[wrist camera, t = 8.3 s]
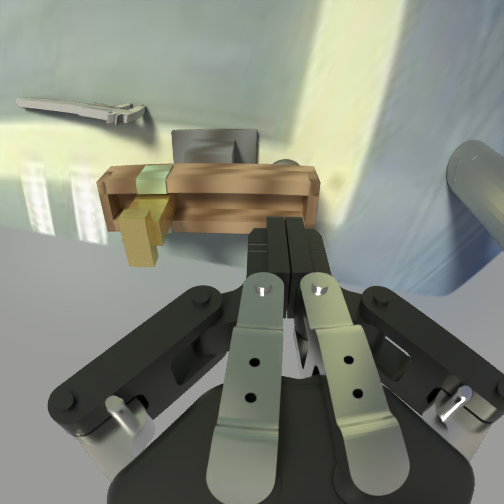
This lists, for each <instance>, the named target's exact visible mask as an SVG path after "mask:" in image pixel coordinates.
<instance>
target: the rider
mask: <svg viewBox="0 0 504 504" xmlns="http://www.w3.org/2000/svg"><path fill="white" fill-rule="evenodd" d="M177 208H178V200H177V193H167V194H137V196H136V197H135V199H134V200H133V202H132V203H131V205H130V207H129V208H128V209H124V210H123V212H122V213H121V215H120V217H119V218H118V222H119V227H120V231H121V235H122V239H123V243H124V247H125V251H126V255H127V258H128V262H129V266H134V267H155V264H156V261H157V259H158V251H157V246H163V244H164V241H165V239H166V236H167V233H168V231H169V228H170V226H171V223H172V221H173V218H174V215H175V213H176V211H177Z"/></svg>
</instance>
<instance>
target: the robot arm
mask: <svg viewBox="0 0 504 504" xmlns="http://www.w3.org/2000/svg"><path fill="white" fill-rule="evenodd" d="M447 181H448V185H449V187H450V189H451V190H452V192H453V193H454V194H455V195H456V196H457V197H458V198H459V199H460V200H461V201H462V203H463V204H464V205H465V206H466V207H467V208H468V209H469V210H470V212H471V213H472V214H473V215H474V216H475V217H476V218H477V220H478V221H479V222H480V223H481V224H482V225H483V227H484V228H485V229H486V230H487V231H488V232H489V234H490V235H491V236H492V237H493V239H494V240H495V241H496V242H497V244H498V245H499V246H500V247H501V249H502V250H503V251H504V157H502V156H501V155H500V154H499V153H497V152H496V151H494V150H493V149H492V148H490V147H489V146H487V145H486V144H484V143H483V142H480V141H469V142H466V143H465V144H463V145H461V146H460V147H459V148H458V149H457V150H456V151H455V152H454V154H453V155H452V157H451V159H450V161H449V164H448V168H447ZM286 310H287V318H294V324H295V326H294V333H293V336H294V342H295V347H296V353H297V359H298V364H299V370H300V379H295V378H290V377H285V376H281V373H282V351H283V318H286ZM386 336H387V337H388V338H390V339H391V340H392V341H393V342H395V343H396V344H397V345H399V346H400V347H401V348H402V349H404V350H405V351H406V352H407V353H408V354H409V355H410V357H411V358H410V357H409V356H407V355H406V354H405V353H404V352H402V351H401V350H400V349H399V348H397V347H396V346H395V345H393V344H392V343H391V342H390V341H388V340H387V339H386V338H385V337H386ZM227 351H229V356H228V361H227V368H226V373H225V379H224V384H221V385H218V386H216V387H214V388H212V389H210V390H209V391H207V392H206V393H204V394H203V395H202V396H201V397H200V398H198V399H197V400H196V401H195V402H194V403H193V405H191V406H190V407H189V408H188V409H187V410H186V411H185V412H184V413H183V414H182V415H181V416H180V417H179V418H178V419H177V420H176V421H175V422H174V423H172V424H171V425H170V426H169V427H168V428H167V429H166V430H165V431H164V432H163V433H162V434H161V435H160V436H159V437H158V438H157V439H155V440H154V441H153V442H152V443H151V444H150V445H149V446H148V447H147V448H146V449H145V446H146V445H147V444H148V442H149V441H150V440H151V439H152V437H153V435H154V431H155V425H154V422H153V419H155V418H156V417H157V416H158V415H159V414H161V413H162V412H163V411H164V410H165V409H166V408H168V407H169V406H170V405H171V404H172V403H173V402H174V401H176V400H177V399H178V398H179V397H180V396H181V395H182V394H183V393H185V392H186V391H187V390H188V389H189V388H190V387H191V386H193V385H194V384H195V383H196V382H197V381H198V380H199V379H200V378H201V377H203V376H204V375H205V374H206V373H207V372H208V371H209V370H210V369H211V368H213V366H215V365H216V364H217V363H218V362H219V361H220V360H221V359H222V358H223V357H224V356H225V355H226V353H227ZM381 383H383V384H384V385H385V386H386V387H387V388H386V387H385V386H383V385H382V384H381ZM388 388H389V389H390V390H391V391H390V390H389V389H388ZM394 393H395V394H396V395H397V396H398V397H400V398H401V399H402V400H403V401H404V402H405V403H407V404H408V405H409V406H410V407H411V408H413V409H414V410H415V411H416V412H418V413H419V414H420V415H421V416H422V418H421V417H420V416H418V415H417V414H416V413H415V412H414V411H413V410H412V409H410V407H408V406H407V405H406V404H405V403H404V402H403V401H402V400H401V399H400V398H398V397H397V396H396V395H395V394H394ZM48 411H49V414H50V415H51V417H52V418H53V420H55V421H56V422H57V423H58V424H59V425H60V426H61V427H63V429H64V430H65V431H66V432H67V433H68V434H69V435H71V436H72V437H73V438H74V439H76V440H77V441H78V442H79V443H80V444H81V446H82V447H83V448H84V450H85V451H86V452H87V453H88V455H89V456H90V457H91V459H92V460H93V461H94V462H95V464H96V465H97V466H98V467H99V469H100V470H101V471H102V472H103V473H104V474H105V476H106V477H107V478H108V479H109V480H110V482H111V484H110V487H109V490H108V495H107V504H470V502H471V499H472V495H473V492H474V486H475V482H474V481H475V478H474V473H473V469H472V467H471V465H470V463H469V462H470V460H471V459H472V457H473V456H474V454H475V452H476V451H477V449H478V448H479V446H480V444H481V442H482V441H483V439H484V437H485V435H486V434H487V432H488V430H489V428H490V427H491V425H492V424H493V423H494V422H495V421H497V420H498V419H499V418H500V417H501V416H502V415H504V374H503V373H501V372H500V371H499V370H498V369H496V368H495V367H494V366H493V365H491V364H490V363H489V362H487V361H486V360H485V359H484V358H482V357H481V356H480V355H478V354H477V353H476V352H475V351H473V350H472V349H470V348H469V347H468V346H467V345H465V344H464V343H462V342H461V341H460V340H459V339H457V338H456V337H455V336H453V335H452V334H451V333H449V332H448V331H447V330H445V329H444V328H443V327H441V326H440V325H439V324H437V323H436V322H434V321H433V320H432V319H430V318H429V317H428V316H426V315H425V314H424V313H422V312H421V311H419V310H418V309H417V308H415V307H414V306H412V305H411V304H410V303H408V302H407V301H405V300H404V299H403V298H401V297H400V296H398V295H397V294H396V293H394V292H393V291H391V290H390V289H388V288H385V287H381V286H372V287H369V288H367V289H366V290H365V291H364V292H363V294H359V293H355V292H351V291H347V290H345V289H343V288H341V287H340V286H339V283H338V281H337V280H336V279H335V278H334V277H332V276H331V271H330V267H329V263H328V259H327V255H326V252H325V248H324V244H323V240H322V236H321V235H320V234H319V233H318V232H317V231H316V230H315V229H307V228H305V227H304V222H303V217H290V216H285V219H284V216H267V217H266V228H254V229H253V230H252V231H251V233H250V234H249V236H248V257H247V277H246V280H245V281H244V283H243V285H242V286H240V287H239V288H238V289H236V290H234V291H230V292H227V293H222V294H221V293H220V292H219V291H218V290H217V289H215V288H213V287H210V286H204V285H202V286H196V287H193V288H190V289H189V290H187V291H186V292H184V293H183V294H182V295H180V296H179V297H178V298H176V299H175V300H174V301H172V302H171V303H169V304H168V305H167V306H165V307H164V308H163V309H161V310H160V311H159V312H157V313H156V314H155V315H153V316H152V317H151V318H149V319H148V320H147V321H145V322H144V323H143V324H141V325H140V326H138V327H137V328H136V329H134V330H133V331H132V332H130V333H129V334H128V335H126V336H125V337H124V338H122V339H121V340H120V341H118V342H117V343H116V344H114V345H113V346H112V347H110V348H109V349H108V350H106V351H105V352H104V353H102V354H101V355H100V356H98V357H97V358H96V359H94V360H93V361H92V362H90V363H89V364H88V365H86V366H85V367H84V368H82V369H81V370H79V371H78V372H77V373H76V374H74V375H73V376H72V377H70V378H69V379H68V380H66V381H65V382H64V383H62V384H61V385H60V386H58V387H57V388H56V389H55V390H54V391H53V392H52V393H51V395H50V397H49V400H48ZM144 449H145V450H144Z"/></svg>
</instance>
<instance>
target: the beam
mask: <svg viewBox="0 0 504 504" xmlns="http://www.w3.org/2000/svg"><path fill="white" fill-rule="evenodd" d="M171 134H172V147H173V159H174V164H147V165H126V166H111V167H110V168H109V169H108V170H107V171H106V172H105V173H104V174H103V176H102V177H101V178H100V179H99V180H98V181H97V182H96V183H97V188H98V192H99V197H100V201H101V205H102V209H103V214H104V218H105V222H106V226H107V229H108V231H120V227H119V222H118V218H119V217H120V215H121V213H122V212H123V210H124V209H128V208H129V207H130V205H131V203H132V202H133V200H134V199H135V197H136V196H137V194H167V193H177V200H178V208H177V211H176V213H175V215H174V218H173V221H172V223H171V226H170V228H169V231H168V233H167V234H173V232H193V233H239V234H250V233H251V231H252V230H253V229H254V228H266V217H267V216H284V219H285V216H290V217H303V222H304V227H305V228H307V229H314V225H315V218H316V211H317V205H318V198H319V191H320V180H319V178H318V175H317V173H316V170H315V168H314V167H313V166H300V165H299V164H298V163H297V162H295V161H293V160H289V159H283V160H279V161H277V162H275V163H273V164H256V142H257V129H189V130H173V131H172V132H171Z"/></svg>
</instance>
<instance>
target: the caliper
mask: <svg viewBox="0 0 504 504" xmlns="http://www.w3.org/2000/svg"><path fill="white" fill-rule="evenodd" d="M16 104H17V105H19V107H27V108H36V109H44V110H53V111H60V112H68V113H75V114H79V115H80V116H86V117H92V118H97V119H103V120H107V122H106V123H107V124H108V123H114V122H115V125H118V124H120V123H129V122H132V121H134V120H137V119H138V118H139V117H141V116H142V115H143V114H144V113H145V105H141V106H138V107H135V108H132V106H133V104H131V103H127V104H122V105H117V106H108V105H104V104H97V103H90V104H85V103H77V102H69V101H60V100H50V99H39V98H16Z"/></svg>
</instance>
